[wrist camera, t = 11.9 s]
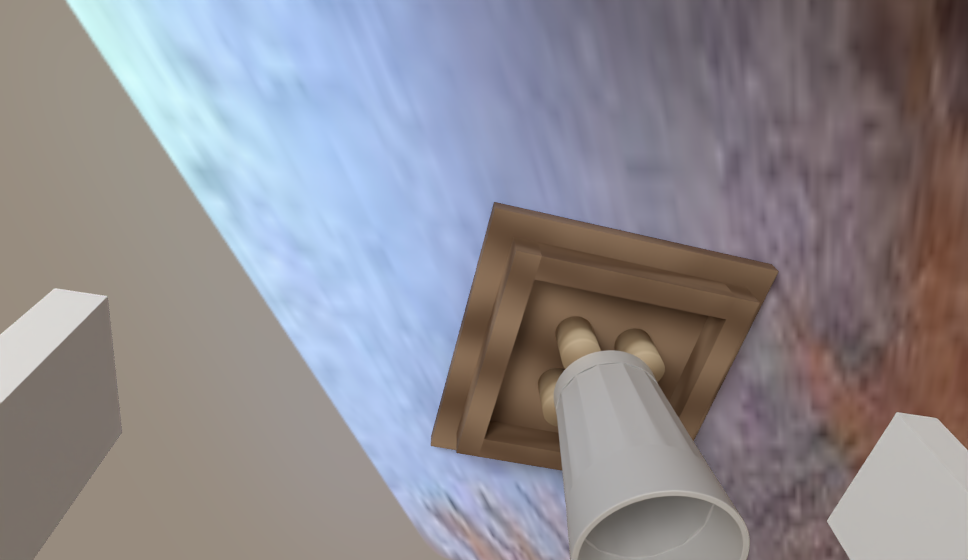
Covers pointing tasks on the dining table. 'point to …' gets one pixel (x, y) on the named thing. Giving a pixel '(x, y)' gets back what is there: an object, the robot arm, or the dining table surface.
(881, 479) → the robot arm
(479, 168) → the dining table surface
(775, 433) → the dining table surface
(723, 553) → the cup
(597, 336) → the peg stand
